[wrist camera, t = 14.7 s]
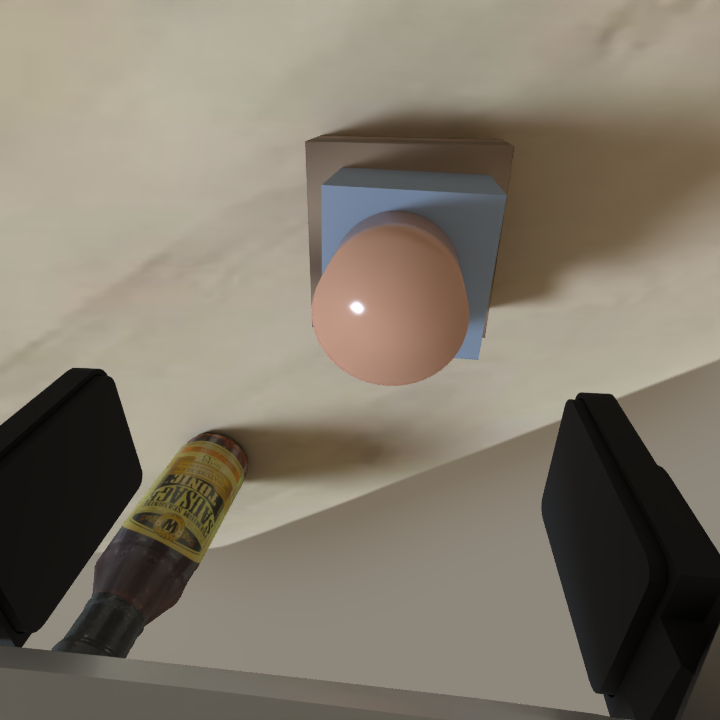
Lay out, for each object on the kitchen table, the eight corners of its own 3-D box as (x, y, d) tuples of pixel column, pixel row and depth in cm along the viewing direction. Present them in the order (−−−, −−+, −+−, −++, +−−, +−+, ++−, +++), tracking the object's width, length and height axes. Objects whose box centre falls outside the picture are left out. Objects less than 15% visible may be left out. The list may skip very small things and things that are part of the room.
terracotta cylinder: (331, 209, 22) (307, 238, 17) (466, 212, 21) (478, 243, 17) (334, 330, 24) (315, 381, 20) (453, 336, 24) (460, 390, 20)
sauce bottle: (261, 449, 43) (151, 688, 26) (235, 491, 46) (121, 731, 29) (194, 415, 42) (32, 639, 25) (172, 460, 45) (13, 689, 28)
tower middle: (342, 167, 26) (321, 185, 21) (490, 174, 26) (507, 195, 20) (339, 303, 30) (322, 346, 25) (468, 313, 30) (478, 360, 24)
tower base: (322, 134, 30) (305, 141, 26) (500, 138, 29) (514, 146, 25) (326, 298, 36) (312, 326, 31) (477, 306, 35) (484, 337, 30)
